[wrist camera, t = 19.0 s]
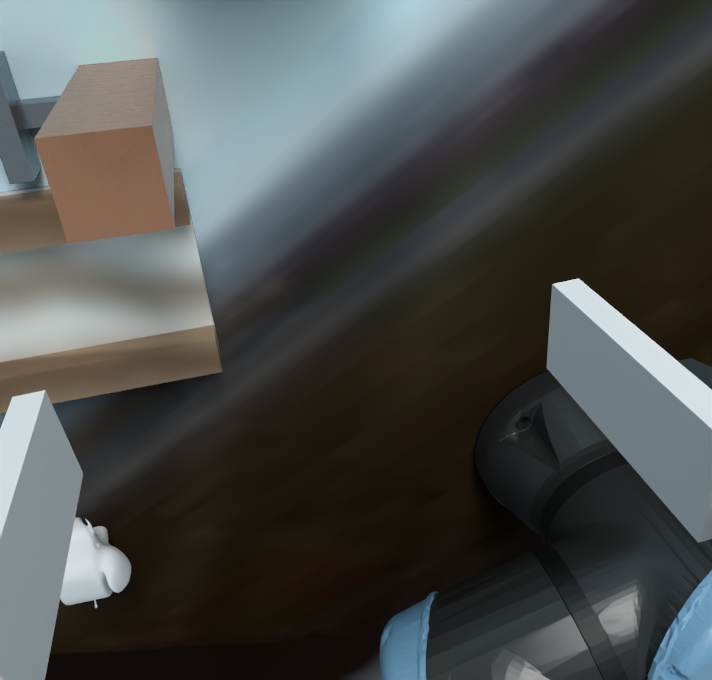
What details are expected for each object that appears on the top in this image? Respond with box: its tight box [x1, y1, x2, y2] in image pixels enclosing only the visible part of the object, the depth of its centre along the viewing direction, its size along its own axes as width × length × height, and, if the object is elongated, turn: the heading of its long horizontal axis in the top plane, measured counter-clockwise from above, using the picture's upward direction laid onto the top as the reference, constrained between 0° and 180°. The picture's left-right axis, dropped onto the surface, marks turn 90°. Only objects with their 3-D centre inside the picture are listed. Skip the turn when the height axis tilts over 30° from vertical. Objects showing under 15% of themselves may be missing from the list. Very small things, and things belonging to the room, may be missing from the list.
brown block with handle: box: [0, 51, 175, 244], centre depth 29 cm, size 6×9×14 cm
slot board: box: [0, 168, 222, 414], centre depth 39 cm, size 13×14×3 cm
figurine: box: [60, 517, 131, 608], centre depth 49 cm, size 7×8×6 cm
